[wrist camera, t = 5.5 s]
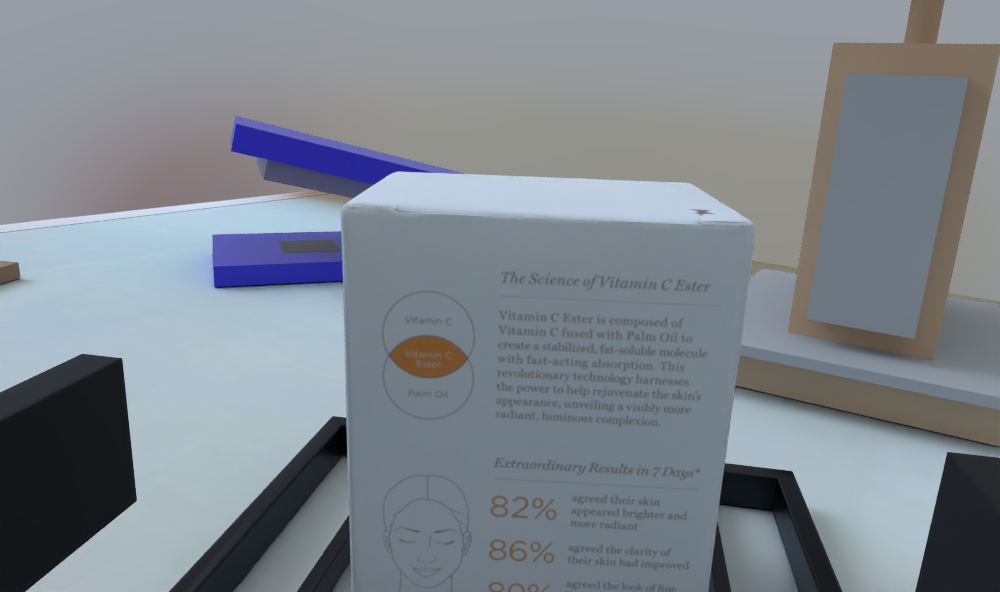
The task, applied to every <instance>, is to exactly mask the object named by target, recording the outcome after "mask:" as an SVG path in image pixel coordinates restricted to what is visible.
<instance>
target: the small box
mask: <svg viewBox="0 0 1000 592" xmlns="http://www.w3.org/2000/svg"><path fill="white" fill-rule="evenodd" d="M341 235H342V264H343V301H344V331H345V372H346V417H347V460H348V489H349V522H350V559H351V591H352V592H708V590H709V582H710V574H711V566H712V559H713V551H714V544H715V535H716V527H717V519H718V510H719V502H720V494H721V487H722V479H723V472H724V465H725V458H726V450H727V443H728V436H729V429H730V421H731V412H732V406H733V399H734V391H735V384H736V377H737V370H738V364H739V357H740V350H741V342H742V335H743V327H744V318H745V311H746V303H747V294H748V285H749V279H750V272H751V264H752V254H753V248H754V236H755V227H754V224H753V223H752V222H751V221H749V220H748V219H747V218H745V217H744V216H742V215H740V214H739V213H738V212H736V211H734V210H733V209H731V208H730V207H728V206H726V205H725V204H723V203H721V202H719V201H718V200H717V199H715V198H713V197H711V196H710V195H708V194H707V193H705V192H704V191H702V190H700V189H699V188H697V187H696V186H694V185H692V184H690V183H675V182H650V181H623V180H600V179H578V178H551V177H524V176H500V175H476V174H448V173H422V172H395V173H392V174H390V175H388V176H387V177H385V178H384V179H382V180H381V181H379V182H377V183H376V184H374V185H373V186H371V187H370V188H368V189H367V190H365V191H364V192H362V193H361V194H359V195H358V196H356V197H355V198H353V199H352V200H350V201H349V202H347V203H346V204H345V205H344V206H343V208H342V212H341Z"/></svg>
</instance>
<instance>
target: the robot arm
mask: <svg viewBox="0 0 1000 592" xmlns="http://www.w3.org/2000/svg"><path fill="white" fill-rule="evenodd" d="M136 501H137V498H136V488H135V478H134V469H133V459H132V449H131V440H130V430H129V420H128V411H127V401H126V391H125V382H124V372H123V362H122V358H114V357H105V356H96V355H87V354H81V355H79V356H77V357H75V358H73V359H70V360H68V361H66V362H64V363H62V364H60V365H58V366H56V367H53V368H51V369H49V370H47V371H45V372H43V373H41V374H39V375H36V376H34V377H32V378H30V379H28V380H26V381H24V382H22V383H19V384H17V385H15V386H13V387H11V388H9V389H7V390H5V391H2V392H0V592H25V591H26V590H28V589H29V588H30V587H31V586H33V585H34V584H35V583H36V582H38V581H39V580H40V579H41V578H42V577H44V576H45V575H46V574H47V573H49V572H50V571H51V570H52V569H53V568H55V567H56V566H57V565H58V564H60V563H61V562H62V561H63V560H65V559H66V558H67V557H68V556H69V555H71V554H72V553H73V552H74V551H76V550H77V549H78V548H79V547H81V546H82V545H83V544H84V543H85V542H87V541H88V540H89V539H90V538H92V537H93V536H94V535H95V534H96V533H98V532H99V531H100V530H101V529H103V528H104V527H105V526H106V525H108V524H109V523H110V522H111V521H112V520H114V519H115V518H116V517H117V516H119V515H120V514H121V513H122V512H123V511H125V510H126V509H127V508H128V507H130V506H131V505H132V504H133V503H135V502H136ZM916 592H1000V458H996V457H987V456H978V455H969V454H960V453H952V452H947V457H946V461H945V465H944V470H943V474H942V478H941V483H940V487H939V491H938V496H937V500H936V505H935V509H934V513H933V518H932V522H931V526H930V531H929V535H928V539H927V544H926V548H925V552H924V557H923V561H922V565H921V570H920V574H919V578H918V583H917V587H916Z"/></svg>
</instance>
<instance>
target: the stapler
mask: <svg viewBox="0 0 1000 592" xmlns="http://www.w3.org/2000/svg"><path fill="white" fill-rule="evenodd" d="M231 151H233V152H237V153H241V154H246V155H250V156H254V157H257V162H256V163H257V165H258V167H259V170H260V172H261V174H262V176H263V179H264V180H269V181H273V182H278V183H283V184H288V185H293V186H297V187H302V188H307V189H312V190H317V191H321V192H326V193H331V194H336V195H341V196H346V197H350V198H355V197H356V196H358V195H359V194H361V193H362V192H364V191H365V190H367V189H368V188H370V187H371V186H373V185H374V184H376V183H377V182H379V181H381V180H382V179H384V178H385V177H387V176H388V175H390V174H392V173H395V172H422V173H448V174H464V173H460V172H456V171H452V170H448V169H444V168H440V167H436V166H432V165H428V164H424V163H420V162H416V161H412V160H408V159H404V158H400V157H397V156H393V155H389V154H385V153H381V152H377V151H373V150H368V149H365V148H361V147H357V146H353V145H349V144H345V143H341V142H337V141H333V140H329V139H325V138H321V137H317V136H313V135H309V134H305V133H301V132H298V131H293V130H290V129H286V128H282V127H278V126H274V125H270V124H266V123H262V122H258V121H254V120H250V119H246V118H242V117H238V116H235V121H234V126H233V132H232V137H231ZM213 270H214V286H215V287H225V286H246V285H266V284H287V283H307V282H327V281H343V264H342V235H341V231H339V232H300V233H262V234H223V235H213Z"/></svg>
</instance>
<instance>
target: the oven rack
mask: <svg viewBox="0 0 1000 592" xmlns="http://www.w3.org/2000/svg"><path fill="white" fill-rule="evenodd" d="M342 455H346V456H347V418H343V417H335V416H333V417H332V418H331V419H330V420H329V421H328V422H327V423H326V424H325V425H324V426H323V427H322V428H321V429H320V430H319V431H318V433H317V434H316V435H315V436H314V437H313V438H312V439H311V440H310V441H309V442H308V443H307V444H306V445H305V447H304V448H303V449H302V450H301V451H300V452H299V453H298V454H297V455H296V456H295V457H294V458H293V459H292V460H291V462H290V463H289V464H288V465H287V466H286V467H285V468H284V469H283V470H282V471H281V472H280V473H279V474H278V475H277V477H276V478H275V479H274V480H273V481H272V482H271V483H270V484H269V485H268V486H267V487H266V488H265V489H264V490H263V492H262V493H261V494H260V495H259V496H258V497H257V498H256V499H255V500H254V501H253V502H252V503H251V504H250V505H249V507H248V508H247V509H246V510H245V511H244V512H243V513H242V514H241V515H240V516H239V517H238V518H237V519H236V520H235V522H234V523H233V524H232V525H231V526H230V527H229V528H228V529H227V530H226V531H225V532H224V533H223V534H222V535H221V537H220V538H219V539H218V540H217V541H216V542H215V543H214V544H213V545H212V546H211V547H210V548H209V549H208V550H207V552H206V553H205V554H204V555H203V556H202V557H201V558H200V559H199V560H198V561H197V562H196V563H195V564H194V565H193V567H192V568H191V569H190V570H189V571H188V572H187V573H186V574H185V575H184V576H183V577H182V578H181V579H180V581H179V582H178V583H177V584H176V585H175V586H174V587H173V588H172V589H171V590H170V591H169V592H232V591H233V590H234V588H235V587H236V586H237V585H238V584H239V582H240V581H241V580H242V579H243V577H244V576H245V575H246V574H247V572H248V571H249V570H250V569H251V567H252V566H253V565H254V564H255V562H256V561H257V560H258V559H259V558H260V556H261V555H262V554H263V553H264V551H265V550H266V549H267V548H268V546H269V545H270V544H271V543H272V541H273V540H274V539H275V538H276V536H277V535H278V534H279V533H280V531H281V530H282V529H283V528H284V527H285V525H286V524H287V523H288V522H289V520H290V519H291V518H292V517H293V515H294V514H295V513H296V512H297V510H298V509H299V508H300V507H301V505H302V504H303V503H304V502H305V501H306V499H307V498H308V497H309V496H310V494H311V493H312V492H313V491H314V489H315V488H316V487H317V486H318V484H319V483H320V482H321V481H322V479H323V478H324V477H325V476H326V474H327V473H328V472H329V471H330V470H331V468H332V467H333V466H334V465H335V463H336V462H337V461H338V460H339V458H340V457H341V456H342ZM719 503H721V504H729V505H737V506H744V507H752V508H760V509H768V510H772V511H773V514H774V517H775V520H776V523H777V526H778V529H779V532H780V535H781V538H782V541H783V544H784V547H785V550H786V554H787V557H788V560H789V563H790V566H791V569H792V572H793V575H794V578H795V581H796V584H797V587H798V590H799V592H842V590H841V587H840V585H839V583H838V580H837V578H836V575H835V573H834V571H833V568H832V566H831V563H830V561H829V558H828V556H827V554H826V551H825V549H824V546H823V544H822V542H821V539H820V537H819V534H818V532H817V529H816V527H815V525H814V522H813V520H812V517H811V515H810V513H809V510H808V508H807V505H806V503H805V500H804V498H803V496H802V493H801V491H800V488H799V486H798V484H797V481H796V479H795V476H794V474H793V472H792V471H786V470H777V469H769V468H761V467H752V466H744V465H735V464H727V463H725V465H724V472H723V479H722V487H721V494H720V502H719ZM349 561H350V522H349V516H348V517H347V519H346V520H345V522H344V523H343V525H342V526H341V528H340V529H339V531H338V532H337V534H336V535H335V537H334V538H333V540H332V541H331V543H330V544H329V545H328V547H327V548H326V550H325V551H324V553H323V554H322V556H321V557H320V559H319V560H318V562H317V563H316V565H315V566H314V568H313V569H312V571H311V572H310V574H309V575H308V577H307V578H306V579H305V581H304V582H303V584H302V585H301V587H300V588H299V590H298V591H297V592H331V590H332V589H333V587H334V585H335V584H336V582H337V580H338V579H339V577H340V575H341V574H342V572H343V571H344V569H345V567H346V566H347V564H348V562H349ZM708 592H731V589H730V584H729V579H728V574H727V568H726V563H725V558H724V553H723V547H722V542H721V537H720V532H719V527H718V521H717V527H716V535H715V544H714V551H713V559H712V566H711V574H710V582H709V590H708Z"/></svg>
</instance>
